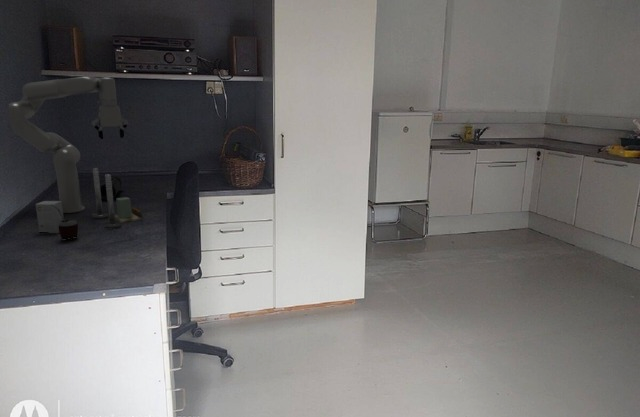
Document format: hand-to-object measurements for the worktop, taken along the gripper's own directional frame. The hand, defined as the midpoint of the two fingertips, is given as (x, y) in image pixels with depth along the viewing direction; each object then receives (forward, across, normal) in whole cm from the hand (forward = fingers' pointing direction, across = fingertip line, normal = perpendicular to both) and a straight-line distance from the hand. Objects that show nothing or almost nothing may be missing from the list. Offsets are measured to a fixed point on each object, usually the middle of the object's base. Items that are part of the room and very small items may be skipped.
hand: (111, 138), depth 240 cm
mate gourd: (+36, -32, -40) cm, 63 cm away
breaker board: (+36, -2, -22) cm, 42 cm away
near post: (+36, -12, -32) cm, 50 cm away
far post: (+36, -12, -12) cm, 40 cm away
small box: (+36, -35, -24) cm, 56 cm away
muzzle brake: (+37, +6, +32) cm, 49 cm away
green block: (+35, -4, -22) cm, 42 cm away
